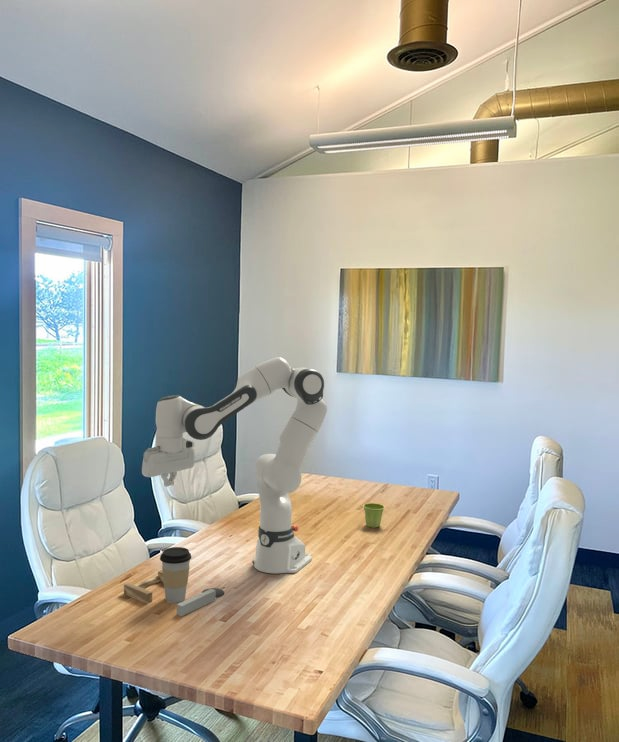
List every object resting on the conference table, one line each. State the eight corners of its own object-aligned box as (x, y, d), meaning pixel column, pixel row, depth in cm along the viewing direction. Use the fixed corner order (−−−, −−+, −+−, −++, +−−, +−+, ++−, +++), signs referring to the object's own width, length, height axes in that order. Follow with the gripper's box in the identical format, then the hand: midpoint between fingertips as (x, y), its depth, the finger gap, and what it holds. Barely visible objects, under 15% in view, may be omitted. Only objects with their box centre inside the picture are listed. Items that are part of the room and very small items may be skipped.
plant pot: (383, 523, 274) (384, 503, 273) (384, 529, 265) (385, 509, 264) (362, 521, 275) (363, 502, 274) (362, 528, 266) (362, 508, 265)
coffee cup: (196, 595, 194) (197, 548, 193) (180, 608, 185) (181, 558, 184) (169, 590, 197) (170, 544, 196) (153, 602, 188) (153, 554, 187)
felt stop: (210, 598, 192) (210, 588, 192) (215, 600, 191) (215, 590, 191) (176, 614, 181) (177, 604, 181) (181, 616, 180) (181, 606, 179)
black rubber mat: (212, 586, 201) (212, 586, 201) (228, 592, 197) (228, 592, 197) (196, 594, 195) (196, 593, 195) (213, 600, 191) (213, 599, 191)
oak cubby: (161, 578, 206) (162, 569, 206) (185, 587, 200) (185, 578, 199) (123, 593, 193) (124, 584, 193) (147, 603, 187) (147, 594, 187)
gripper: (150, 450, 195) (150, 493, 195) (198, 441, 211) (197, 481, 212) (137, 447, 198) (137, 490, 199) (184, 439, 215) (184, 478, 216)
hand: (168, 485), depth 206 cm, fingers closed
